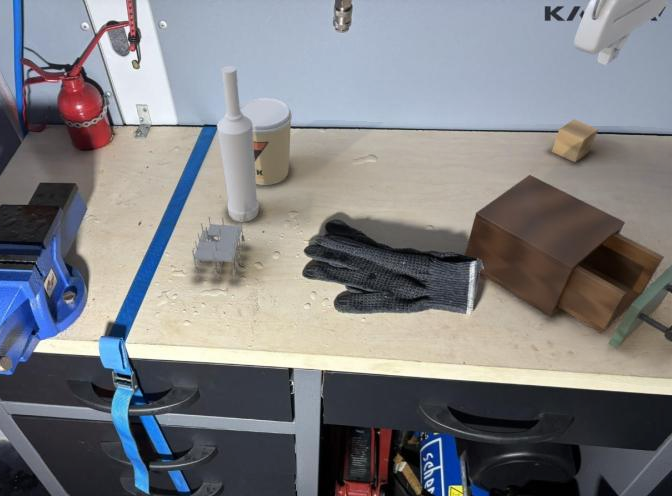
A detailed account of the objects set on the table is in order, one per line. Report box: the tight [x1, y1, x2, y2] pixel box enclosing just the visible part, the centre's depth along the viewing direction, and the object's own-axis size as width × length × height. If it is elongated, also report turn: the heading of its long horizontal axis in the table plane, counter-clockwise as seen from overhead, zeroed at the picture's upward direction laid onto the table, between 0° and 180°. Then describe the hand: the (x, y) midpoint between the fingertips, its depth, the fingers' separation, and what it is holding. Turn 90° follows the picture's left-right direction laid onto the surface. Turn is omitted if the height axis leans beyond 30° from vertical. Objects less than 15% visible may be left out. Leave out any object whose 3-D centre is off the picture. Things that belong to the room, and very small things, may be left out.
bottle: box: [216, 65, 260, 223], centre depth 91 cm, size 5×5×25 cm
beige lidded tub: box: [239, 97, 293, 186], centre depth 103 cm, size 9×9×12 cm
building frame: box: [191, 216, 246, 283], centre depth 90 cm, size 6×8×6 cm
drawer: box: [557, 232, 672, 350], centre depth 79 cm, size 18×11×8 cm, turn 40°
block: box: [551, 119, 599, 163], centre depth 106 cm, size 5×5×5 cm
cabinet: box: [464, 174, 626, 318], centre depth 85 cm, size 15×13×10 cm
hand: (606, 60), depth 94 cm, fingers closed
